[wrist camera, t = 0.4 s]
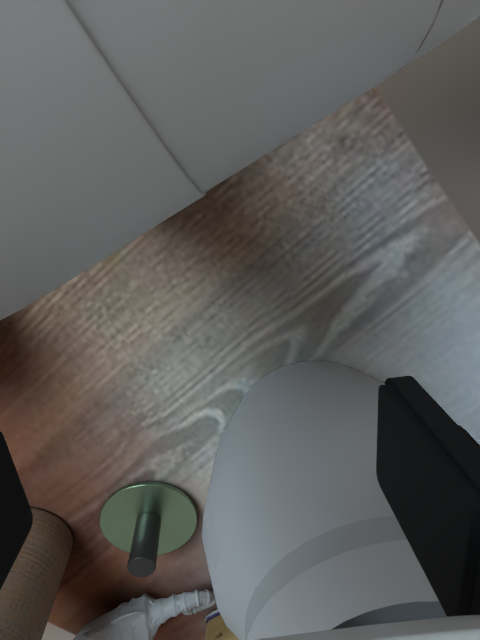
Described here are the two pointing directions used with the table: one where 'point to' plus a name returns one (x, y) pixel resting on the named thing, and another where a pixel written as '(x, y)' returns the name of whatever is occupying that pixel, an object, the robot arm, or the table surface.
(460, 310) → the table surface
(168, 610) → the seahorse
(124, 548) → the lid
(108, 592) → the table surface
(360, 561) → the vase
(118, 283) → the table surface
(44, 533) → the planter
